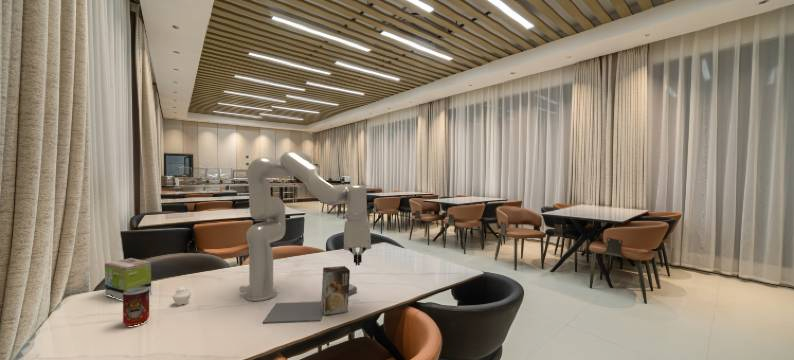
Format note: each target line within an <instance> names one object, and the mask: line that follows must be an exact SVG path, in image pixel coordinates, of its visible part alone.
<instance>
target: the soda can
mask: <svg viewBox="0 0 794 360" xmlns="http://www.w3.org/2000/svg"><path fill="white" fill-rule="evenodd" d="M149 317H150V295H149V288H148V287H144V286H139V287H133V288H130V289H128V290H126V291H125V292H124V293H123V301H122V323H123V324H124V325H125V327H126V326H134V325H138V324H141V323H144V322H145V321H146V320H147V321H148V319H149Z"/></svg>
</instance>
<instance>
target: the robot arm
mask: <svg viewBox="0 0 794 360" xmlns="http://www.w3.org/2000/svg"><path fill="white" fill-rule="evenodd" d="M312 161H313V160H312V158H311V156H310V155H309V154H308V153H305V152H298V151H293V150H291V151H286V152H284V153H283V154H282V155H281V156H280V158H277V157H265V156H264V157H257V158H255V159H254V160H252V161H251V163H250V164H249V165H248V167H247V171H246V177H247V183H248V191H249V192H248V197H249V198H248V199H249V215H250V216H251V218H252V219H253V220H255V221H256V220H257V221H261V220H266V221H262V222H258V223H255V224H253V225H251V226H250V227H248V229H247V230H246V235H245V236H246V241H247V246H248V262H249V263H248V264H249V267H248V268H249V270H248V273H249V275H248V276H249V279H248V281H249V283H248V284H249V285H247V286H246V285H245V286H244V285H240V286H239V292H240V293H245V299H246V301H249V302H259V301H260V302H261V301H267V300H270V299H272V298H274V297H276V296H277V295H278V291H277V289H276V288H274V251H273V248H272V246H271V245H270V244H271V243H274V242H278V241H279V240H282V239H283V238H284V236H285V234H286V228H287V227H286V208H285V207H286V206H285V203H284V201H283V200H282V199H281V198H280V197H277V196H272V194H271V186H270V183H269V181H268V180H267V179H268V178H286V177H291V176H294V177H295V178H296V179H298V180H299V181H300V182H302V183H303V184H304V185H305V187H306V189H307V190H308V192H309V193H310V194H311V195H312V196H313V197H314V198H316V199H317V200H319V201H320V202H322V203H324V204H326V205H327V206H335V205H342V204H346V213H344V214H343V218H344V219H346V220H345V222H344V228H343V250H345V251H349V252H350V253H351V254H352V255H353V263H354V264H355V266H360V265H361V263H362V259H363V258H362V255H363V254H364V252H366V251H368V250H371V249H372V244H371V240H372V239H371V225H370V221H369V219H368V218H367V217H368V216H367V215H368V214H367V213H368V211H367V209H368V208H367V207H368V205H367V203H368V201H367V200H368V199H367V187H366V186H365V185H363V184H361V185H360V184H356V185H355V184H354V185H353V184H352V185H347V184H331V183H329V182H327V180H324V179H323V178H322V177H321V176H320V175H321V169H320V167H318V165H315V164H314V163H313V162H312ZM357 248H359V250H358V252H357V250H356V249H357Z"/></svg>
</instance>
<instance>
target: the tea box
mask: <svg viewBox="0 0 794 360" xmlns="http://www.w3.org/2000/svg"><path fill="white" fill-rule="evenodd" d="M139 286H144V287H148V288H149V293H151V294H152V262H151V261H150V260H149V261H147V260H144V259H137V258H133V257H130V258H125V259H124V258H123V259H120V260H115V261H111V262H107V263H104V287H105V290H104V293H105V294H106V295H110V296H112V297H115V298H118V299H122V300H123V293H124V292H125V291H126V290H128V289H130V288H133V287H139ZM105 294H104V295H105ZM106 295H105V296H106Z"/></svg>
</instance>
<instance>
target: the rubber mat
mask: <svg viewBox="0 0 794 360" xmlns="http://www.w3.org/2000/svg"><path fill="white" fill-rule="evenodd" d="M323 315H324V313H323V311H322V309H321V301H304V302H303V301H302V302H301V301H300V302H275V304H274V305H273V307H272V308H271V310H270V311H269V313H268V314H267V315H266V317H265V318H264V319H263V321H262V324H285V323H286V324H287V323H308V322H311V323H312V322H313V323H314V322H315V323H316V322H321V321H322V317H323Z"/></svg>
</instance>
